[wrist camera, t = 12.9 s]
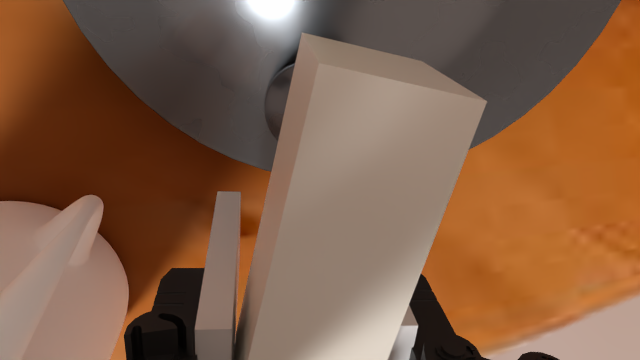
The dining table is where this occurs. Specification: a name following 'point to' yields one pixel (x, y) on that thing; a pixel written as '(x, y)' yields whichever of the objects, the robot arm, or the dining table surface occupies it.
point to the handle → (352, 202)
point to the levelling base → (337, 24)
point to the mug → (58, 283)
